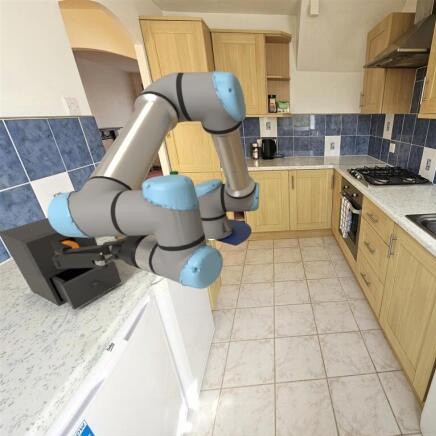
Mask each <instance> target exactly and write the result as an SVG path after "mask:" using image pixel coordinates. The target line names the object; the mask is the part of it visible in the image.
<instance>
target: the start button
mask: <svg viewBox="0 0 436 436" xmlns="http://www.w3.org/2000/svg"><path fill="white" fill-rule="evenodd" d="M61 243H64V244H66V245H69V246H72V249H73V248H79V245H78V244H77V243H76V242H73V241H70V240H65V241H62V242H61Z"/></svg>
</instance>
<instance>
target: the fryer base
mask: <svg viewBox="0 0 436 436" xmlns="http://www.w3.org/2000/svg"><path fill="white" fill-rule="evenodd" d="M16 266H17V268H18V270H19V271H20V273H21V275H22V277H23V279H24V280H25V282H26V284H27V285H28V287H29V289H30V290H31V292H33V293H34V294H36V295H38V296H40V297H41V298H43V299H46V300H48V302H49V301H50V302H51V303H52V304H54V305H56V306H58V307H60V306H62V305H64V304H66V303H68V302H67V301H65V300H63V299H61V298H59V297H58V295H57V293H56V291H55V289H54V287H53V285H52V283H51V281H50V279H49V278H50V277H52V276H55V275H57V274H59V273H61V272H63V271H66V270H68V269H70V268H67V269H60V270H58V271H56V272H54V273H51V274H49V275H47V276H45V277H42V276H40V275H38V274H36V273H34V272H32V271H30V270H28V269H26V268H24V267H22V266H20V265H18V264H16Z"/></svg>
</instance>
